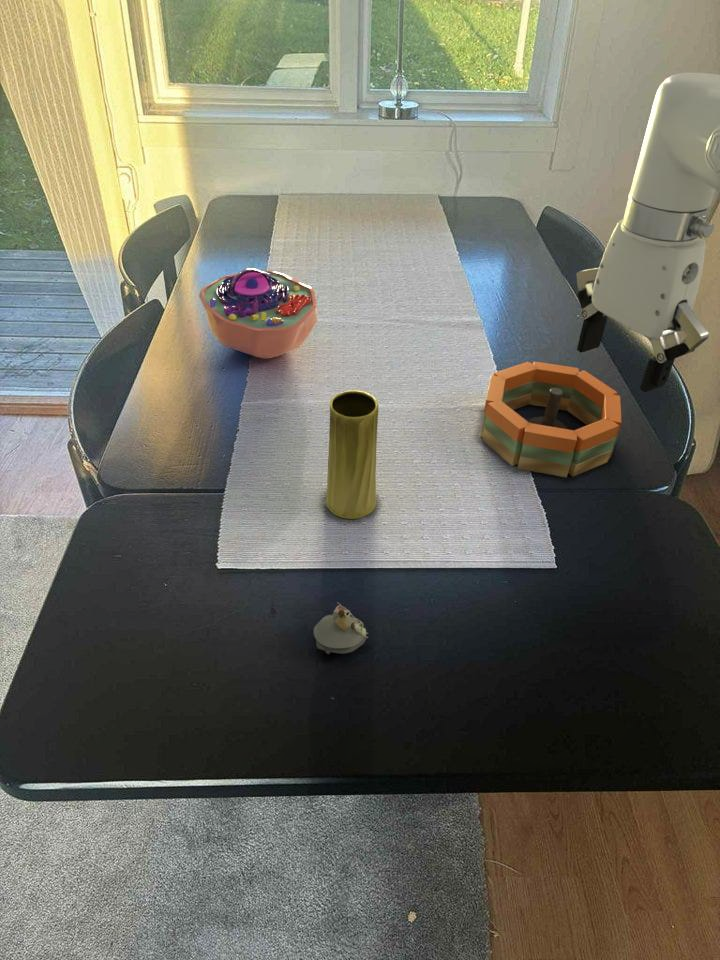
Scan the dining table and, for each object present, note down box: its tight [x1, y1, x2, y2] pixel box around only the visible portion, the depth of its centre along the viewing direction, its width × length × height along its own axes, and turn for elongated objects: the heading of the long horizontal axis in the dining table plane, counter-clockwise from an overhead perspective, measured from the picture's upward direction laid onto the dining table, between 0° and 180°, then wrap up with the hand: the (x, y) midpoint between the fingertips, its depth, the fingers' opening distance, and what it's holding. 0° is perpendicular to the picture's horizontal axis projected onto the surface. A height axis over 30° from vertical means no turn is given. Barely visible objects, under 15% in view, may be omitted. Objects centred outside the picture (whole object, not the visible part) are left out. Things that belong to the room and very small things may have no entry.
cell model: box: [198, 267, 318, 360], centre depth 107 cm, size 17×20×11 cm
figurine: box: [313, 602, 369, 655], centre depth 66 cm, size 5×4×6 cm
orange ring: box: [483, 361, 623, 453], centre depth 92 cm, size 17×17×2 cm
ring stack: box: [480, 381, 619, 478], centre depth 93 cm, size 17×17×7 cm
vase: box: [325, 390, 379, 520], centre depth 79 cm, size 6×6×14 cm
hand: (618, 367), depth 80 cm, fingers open, 9 cm apart
